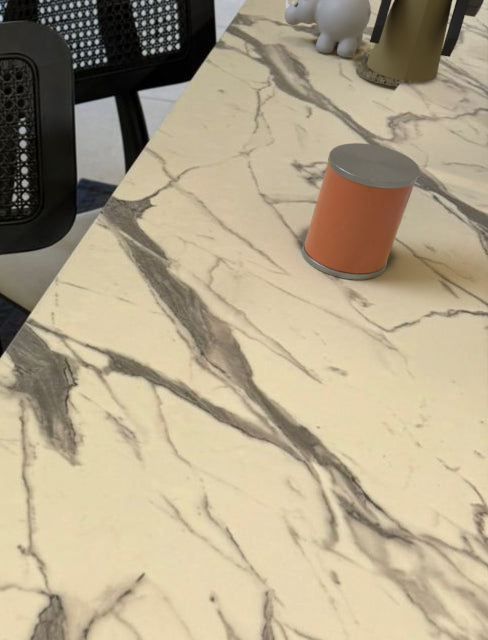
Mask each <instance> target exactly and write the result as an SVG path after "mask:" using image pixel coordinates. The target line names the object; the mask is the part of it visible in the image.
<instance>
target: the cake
mask: <svg viewBox="0 0 488 640" xmlns="http://www.w3.org/2000/svg"><path fill="white" fill-rule="evenodd" d="M374 46H375V43H372V44H370V45H369V46H368V47H367V48H366V50H364V52H363V53H364V54H363V56H362V60H361V61H360V63H358V65H357V67H356V68H355V72H356V75H358V77H361V78H362V79H364V80H366V81H369V82H374V83H375V84H381V85H384V86H389V87H395V88H398V87H399V86H400V85H401V83H405V82H406V83H412V82H411V81H402V80H397V79H392V78H389V77H386V76H383V75H381V74H379V73H376V72H374V71H373V70H372V69H370V68H369V67H368V65H367V62H368V59H369V57H370V55H371V53H372V50H373V48H374ZM414 83H416V84H417V83H418V82H414Z"/></svg>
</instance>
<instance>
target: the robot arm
mask: <svg viewBox="0 0 488 640" xmlns="http://www.w3.org/2000/svg"><path fill="white" fill-rule="evenodd" d="M392 1H393V0H380V5H379V8H378V11H377V15H376V18H375V22H374V26H373V28H372V32H371V36H370V39H369V43H372V44H375V43H377V44H379V41H380V38H381V35H382V32H383V29H384V25H385V22H386V18H387V16H388V14H389V11H390V9H391V6H392ZM483 4H484V0H455V4H454V7H453V10H452V14H451V17H450V22H449V25H448V27H447V30H446V34H445V38H444V43H443V48H442V52H441V57H442V56H443V57H448V58H450V57H451V56H452V53H453V52H454V49H455V47H456V45H457V43H458V41H459V37H460V35H461V32H462V31H461V30H462V28H463V24H464V20H465V16H467V17H472V18H475V17H476V16H477V15H478V13H479V12H480V10H481V8H482V6H483Z"/></svg>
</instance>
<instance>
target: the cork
mask: <svg viewBox="0 0 488 640" xmlns="http://www.w3.org/2000/svg"><path fill="white" fill-rule="evenodd" d="M452 5H453V0H393V2H392V3H391V6H390V8H389V11H388V15H387V18H386V22H385V25H384V29H383V32H382V35H381V38H380V41H379V44H377V43H374V44H375V46H374V48H373V50H372V53H371V55H370V57H369V59H368V62H367V65H368V67H369V68H370V69H372V70H373V71H374V72H376V73H379V74H381V75H383V76H386V77H389V78H392V79H397V80H402V81H411V83H415V82H417V83H425V82H429V81H430V82H431V81H433V80H434V79H436V78H437V75H438V71H439V66H440V61H441V57H442V55H441V52H442V49H443V45H444V42H445V38H446V34H447V30H448V23H449V20H450V19H449V18H450V13H451V9H452Z"/></svg>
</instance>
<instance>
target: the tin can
mask: <svg viewBox="0 0 488 640" xmlns="http://www.w3.org/2000/svg"><path fill="white" fill-rule="evenodd" d="M420 172H421V170H420V166H419V165H418V164H417V162H416V161H415V160H414V159H412V158H411V157H409V156H407V155H406V154H404V153H403V152H400V151H397V150H395V149H393V148H389V147H386V146H381V145H378V144H377V145H376V144H372V143H361V142H360V143H358V142H353V143H344V144H343V143H342V144H340V145H337V146H335V147H334V148H332V149H331V150H330V152H329V155H328V159H327V165H326V169H325V172H324V175H323V179H322V182H321V185H320V189H319V193H318V196H317V199H316V203H315V206H314V210H313V213H312V216H311V220H310V222H309V223H310V224H309V227H308V230H307V234H306V237H305V240H304V241H303V244H302V247H301V255H302V257H303V258H304V260H305V261H306V262H307V263H308V264H309V265H310V266H312V267H313V268H315V269H316V270H318V271H320V272H322V273H324V274H327V275H330V276H333V277H336V278H340V279H344V280H345V279H346V280H355V281H362V280H370V279H374V278H376V277H379V276H381V275H382V274H383V273H384V272H385V270H386V268H387V265H388V260H389V256H390V254H391V251H392V247H393V246H394V242H395V239H396V236H397V233H398V231H399V228H400V225H401V223H402V220H403V217H404V214H405V212H406V209H407V207H408V203H409V201H410V197H411V194H412V192H413V189H414V187H415V183H416V182H417V181H418V179H419V176H420Z"/></svg>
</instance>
